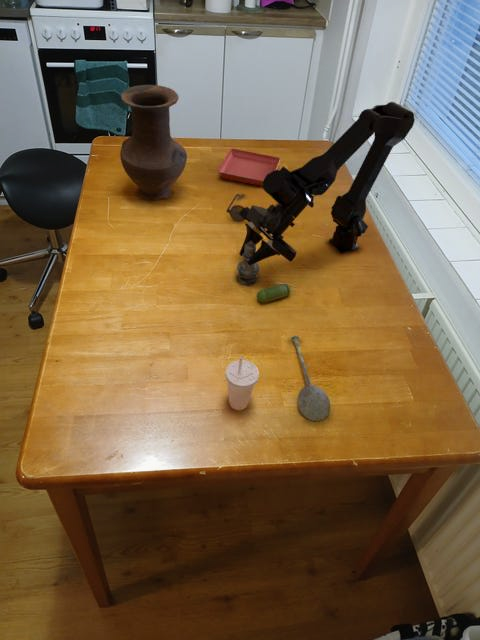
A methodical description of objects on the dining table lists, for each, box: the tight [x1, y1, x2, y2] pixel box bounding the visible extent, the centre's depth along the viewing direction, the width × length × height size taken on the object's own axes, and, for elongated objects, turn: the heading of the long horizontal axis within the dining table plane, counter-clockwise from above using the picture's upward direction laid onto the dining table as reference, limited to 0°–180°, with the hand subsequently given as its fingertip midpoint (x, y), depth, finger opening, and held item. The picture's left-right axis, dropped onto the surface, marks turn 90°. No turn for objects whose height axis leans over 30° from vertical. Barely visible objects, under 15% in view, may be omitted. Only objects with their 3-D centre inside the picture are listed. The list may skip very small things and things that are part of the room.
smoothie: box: [224, 356, 260, 411], centre depth 94 cm, size 6×6×14 cm
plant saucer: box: [217, 148, 281, 187], centre depth 164 cm, size 18×18×3 cm
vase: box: [119, 84, 188, 202], centre depth 141 cm, size 19×19×30 cm
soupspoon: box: [290, 335, 331, 423], centre depth 104 cm, size 22×3×7 cm
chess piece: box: [236, 241, 261, 286], centre depth 122 cm, size 6×6×12 cm
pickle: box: [256, 283, 292, 303], centre depth 121 cm, size 9×3×3 cm, turn 116°
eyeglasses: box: [226, 193, 246, 223], centre depth 147 cm, size 15×15×5 cm
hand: (244, 259), depth 121 cm, fingers closed on chess piece, 3 cm apart
